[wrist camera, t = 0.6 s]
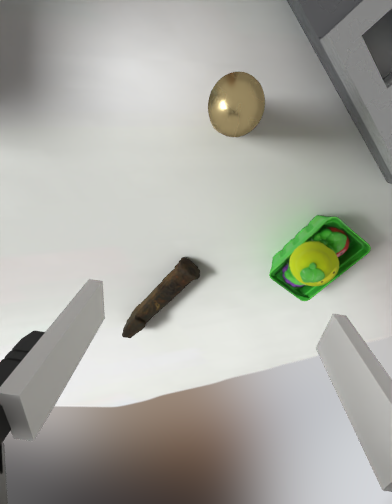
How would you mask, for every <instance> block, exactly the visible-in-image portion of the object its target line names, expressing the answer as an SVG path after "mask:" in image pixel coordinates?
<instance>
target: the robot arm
mask: <svg viewBox="0 0 392 504" xmlns="http://www.w3.org/2000/svg"><path fill="white" fill-rule="evenodd" d="M104 319H105V316H104V298H103V281H98V280H91V279H89V280H88V281H87V282H86V284H85V285H84V286H83V287H82V288H81V290H80V291H79V292H78V293H77V294H76V296H75V297H74V298H73V299H72V301H71V302H70V303H69V304H68V305H67V307H66V308H65V309H64V310H63V311H62V313H61V314H60V315H59V316H58V317H57V319H56V320H55V321H54V322H53V324H52V325H51V326H50V327H49V328H48V330H47V331H46V332H40V331H33V332H31V333H30V334H28V335H27V336H25V337H24V338H22V339H21V340H20V341H19V342H18V343H17V344H16V345H15V347H14V348H13V349H12V351H10V352H9V353H8V354H7V355H6V356H5V359H3V360H2V361H1V362H0V504H8V501H7V484H6V467H5V451H4V443H3V441H4V439H5V437H6V436H7V435H8V433H9V432H10V430H11V433H12V435H13V438H14V439H22V440H28V441H35V439H36V437H37V435H38V434H39V432H40V430H41V428H42V427H43V425H44V423H45V422H46V420H47V418H48V416H49V415H50V413H51V411H52V409H53V408H54V406H55V404H56V402H57V401H58V399H59V397H60V395H61V394H62V392H63V390H64V388H65V387H66V385H67V383H68V381H69V380H70V378H71V376H72V374H73V373H74V371H75V369H76V367H77V366H78V364H79V362H80V360H81V359H82V357H83V355H84V353H85V352H86V350H87V348H88V346H89V345H90V343H91V341H92V339H93V338H94V336H95V334H96V333H97V331H98V329H99V327H100V326H101V324H102V322H103V320H104ZM316 350H317V352H318V354H319V356H320V358H321V360H322V363H323V365H324V367H325V369H326V371H327V373H328V375H329V377H330V380H331V382H332V384H333V386H334V388H335V390H336V392H337V394H338V397H339V399H340V401H341V403H342V405H343V407H344V409H345V411H346V414H347V416H348V418H349V420H350V422H351V424H352V426H353V428H354V431H355V433H356V435H357V437H358V439H359V441H360V443H361V446H362V448H363V450H364V452H365V454H366V456H367V458H368V460H369V463H370V465H371V467H372V469H373V471H374V473H375V475H376V477H377V480H378V482H379V484H380V486H381V488H382V490H384V491H391V492H392V379H391V378H390V376H389V375H388V374H387V372H386V371H385V369H384V368H383V367H382V365H381V364H380V362H379V361H378V360H377V358H376V357H375V355H374V354H373V353H372V351H371V350H370V349H369V347H368V346H367V344H366V343H365V341H364V340H363V339H362V337H361V336H360V334H359V333H358V332H357V330H356V329H355V327H354V326H353V325H352V323H351V322H350V320H349V319H348V318H347V316H345V315H338V314H332V316H331V318H330V320H329V322H328V324H327V327H326V329H325V331H324V333H323V335H322V337H321V339H320V341H319V343H318V345H317V347H316Z"/></svg>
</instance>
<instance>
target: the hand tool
mask: <svg viewBox="0 0 392 504" xmlns="http://www.w3.org/2000/svg"><path fill="white" fill-rule="evenodd" d="M199 277H200V270H199V269H198V267H197V266H196V265H195V264H194V263H193V262H192V261H190V260H189V259H187V258H185V257H183V258H181V260H180V261H179V263H178V264H177V265H176V266H175V269H174V270H173V271H171V272H170V273H169V274H168V275H167V276H166V277H165V278H164V279H163V280H162V282H161V283H160V284H159V285H158V286H157V287H156V288H155V289H154V290H153V291H152V292H151V293H150V295H149V296H148V297H147V298H146V299H145V300H144V301H143V302H142V303H141V304H139V305H138V306H137V307H136V308H135V309H134V311H133V312H132V314H131V316H130V317H129V319H128V320H127V323H126V325H125V327H124V329H123V334H122V336H123V337H128V338H131V337H132V336H134V335H135V334H136V333H138V332H139V331H141V330H142V329H143V328H144V327H145V325H146V323H147V322H148V321H149V320H150V319H151V318H152V317H153V316H154V315H155V314H156V313H158V312H159V311H160V310H161V309H162V308H163V307H164V306H166V305H167V304H168V303H169V302H170V301H171V300H172V299H173V298H174V297H175V296H176V295H177V294H178V293H180V292H181V291H182V290H183V289H184V288H185V287H186V286H187V285H188V284H189V283H190V282H191V281H193V280H195V279H198V278H199Z"/></svg>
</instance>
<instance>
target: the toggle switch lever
mask: <svg viewBox="0 0 392 504" xmlns="http://www.w3.org/2000/svg"><path fill="white" fill-rule="evenodd" d="M264 107H265V97H264V92H263V89H262V87H261V85H260V83H259V82H258V81H257V80H256V79H255V78H254V77H253V76H252V75H250V74H248V73H245V72H233V73H230V74H227V75H225V76H224V77H222V78H221V79H220V80H219V81H218V82H217V83H216V84H215V86H214V87H213V89H212V91H211V94H210V97H209V102H208V112H209V117H210V121H211V124H212V126H213V127H214V129H215V130H216V131H218V132H219V133H221V134H223V135H226V136H229V137H240V136H243V135H245V134H247V133H249V132H250V131H252V130H253V129H254V128H255V127H256V126H257V124H258V123H259V121H260V120H261V118H262V115H263V112H264Z"/></svg>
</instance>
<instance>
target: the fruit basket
mask: <svg viewBox="0 0 392 504" xmlns="http://www.w3.org/2000/svg"><path fill="white" fill-rule="evenodd" d="M370 249H371V247H370V245H369V244H368V243H367V242H366V241H364V240H363V239H362V238H361V237H360V236H358V235H357V234H356V233H355V232H354V231H353V230H351V229H350V228H349V227H348V226H347V225H346V224H345V223H344V222H343V221H342V220H340V219H339V218H338V217H325V216H319V215H317V216H316V217H314V218H313V219H312V220H311V221H310V222H309V224H308V226H306V227H304V228H303V229H302V230H301V231H300V232H299V233H298V234H297V235H296V236H295V238H294V239H292V240H290V241H289V242H288V243H287V244H286V245H285V246H284V248H283V250H281V251H279V252H278V253H277V254H276V255H275V256H274V257H273V261H272V268H271V270H270V274H269V276H270V278H271V279H272V280H274V281H275V282H277V283H278V284H279V285H280V286H282V287H283V288H285V289H286V290H287V291H289V292H290V293H292V294H293V295H294V296H295V297H297V298H298V299H300V300H301V301H308V300H310V299H311V298H312V297H314V296H315V295H316V294H317V293H318V292H320V291H321V290H322V289H323V288H325V287H326V286H327V285H328V284H330V283H331V282H332V281H334V280H335V279H336V278H337V277H339V276H340V275H341V274H342V273H344V272H345V271H346V270H348V269H349V268H350V267H351V266H353V265H354V264H355V263H356V262H358V261H359V260H360V259H362V258H363V257H364V256H365V255H367V254H368V253H369V252H370Z"/></svg>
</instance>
